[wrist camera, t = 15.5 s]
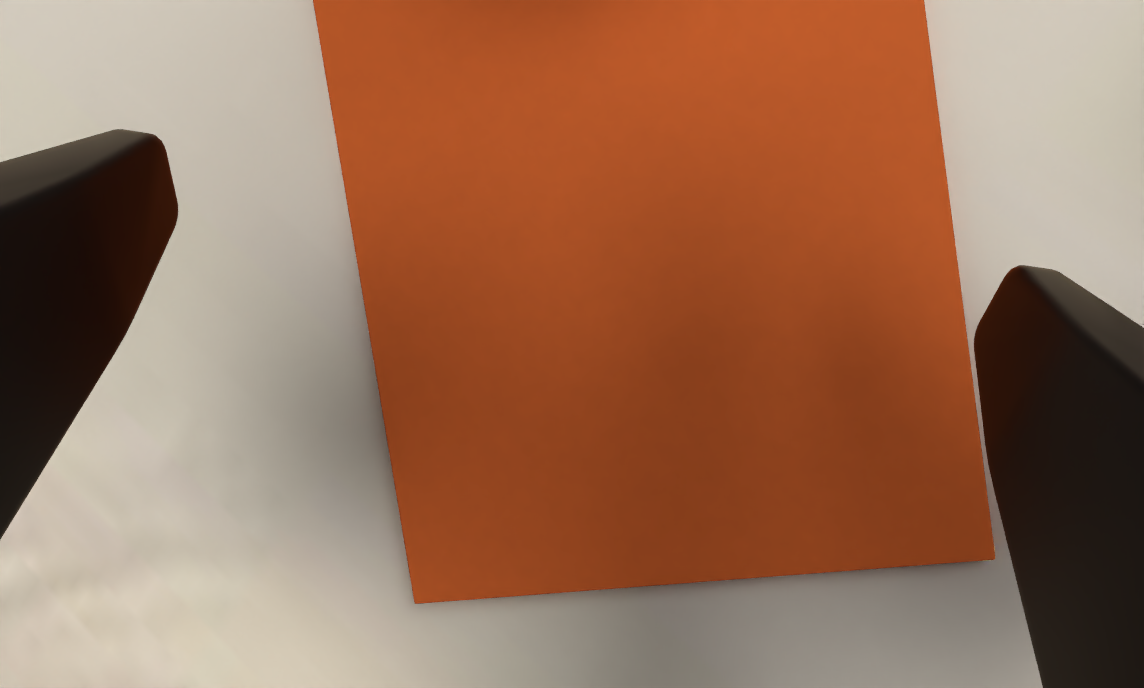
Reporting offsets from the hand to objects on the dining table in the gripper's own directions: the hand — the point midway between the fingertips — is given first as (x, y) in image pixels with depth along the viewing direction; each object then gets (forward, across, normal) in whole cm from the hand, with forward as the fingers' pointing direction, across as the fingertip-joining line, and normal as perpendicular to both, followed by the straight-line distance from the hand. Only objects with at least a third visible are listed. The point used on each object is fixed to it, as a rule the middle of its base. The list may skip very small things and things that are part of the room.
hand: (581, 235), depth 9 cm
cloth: (+10, 0, +3) cm, 11 cm away
